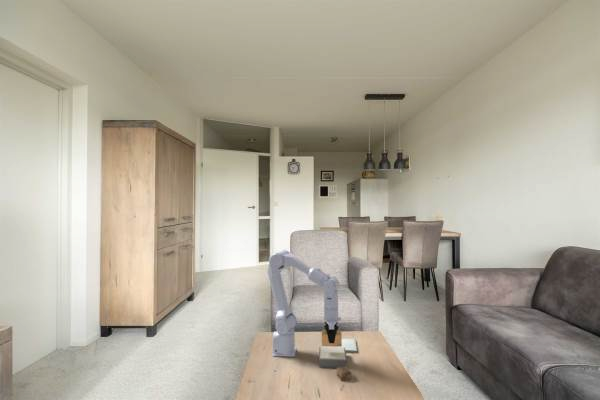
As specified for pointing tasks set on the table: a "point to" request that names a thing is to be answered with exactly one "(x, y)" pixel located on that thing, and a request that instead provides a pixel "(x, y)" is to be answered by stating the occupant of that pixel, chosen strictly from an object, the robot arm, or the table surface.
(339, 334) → the block
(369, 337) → the table surface
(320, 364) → the stand
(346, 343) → the hard drive
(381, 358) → the table surface
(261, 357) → the table surface
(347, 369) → the walnut block
